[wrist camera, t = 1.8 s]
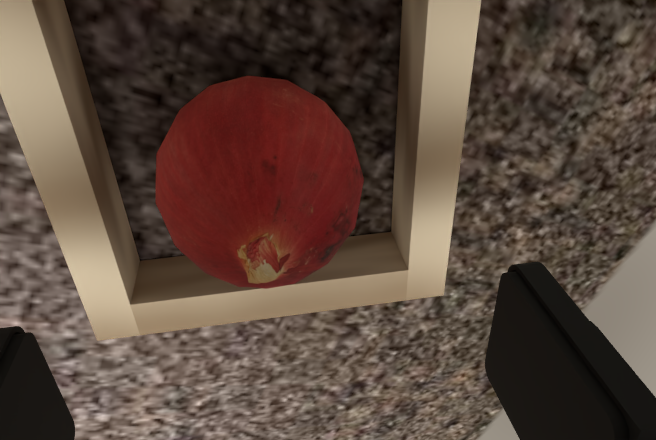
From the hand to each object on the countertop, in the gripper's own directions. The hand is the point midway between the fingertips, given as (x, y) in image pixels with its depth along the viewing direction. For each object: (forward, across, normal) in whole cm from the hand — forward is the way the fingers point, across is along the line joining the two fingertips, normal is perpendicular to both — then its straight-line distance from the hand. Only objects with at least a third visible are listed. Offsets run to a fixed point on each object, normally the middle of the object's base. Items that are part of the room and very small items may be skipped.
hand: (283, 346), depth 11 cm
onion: (+10, 0, -1) cm, 10 cm away
